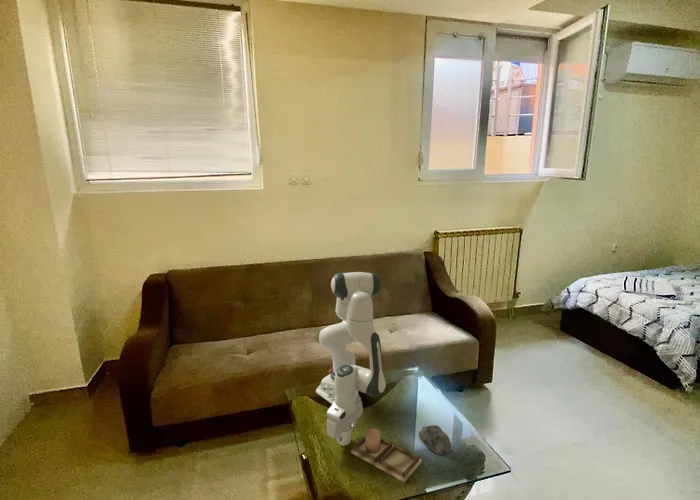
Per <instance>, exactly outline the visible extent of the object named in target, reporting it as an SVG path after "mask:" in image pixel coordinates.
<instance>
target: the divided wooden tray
mask: <svg viewBox="0 0 700 500" xmlns="http://www.w3.org/2000/svg"><path fill="white" fill-rule="evenodd" d="M350 453H351V454H353V455H355V456H356V457H357V458H359V459H361V460H363V461H365V462H367V463H369V464H370V465H372V466H374V467H376V468H378V469H379V470H381V471H383V472H385V473H386V474H388V475H389V476H392V477H393V478H395V479H396V480H399V481H401V482H403V483H406V482H407V481H408V479H409V478H410V477H411V475H412V474H413V473H414V472H415V471H416V470H417V468H418V467H419V466H420V465H421V464H422V462H423V459H422V458H420V456H418V455H416V454H414V453H412V452H410V451H408V450H406V449H404V448H402V447H400V446H398V445H396V444H393V443H392V442H390V441H388V440H387V439H384V438H382V437H380V451H379V452H378V453H375V454H372V453H369V452H367V451H366V435H364V437H362V438H361V439H360V441H358V442H357V443H355V445H354V446H353V448H352V449H350Z"/></svg>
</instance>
